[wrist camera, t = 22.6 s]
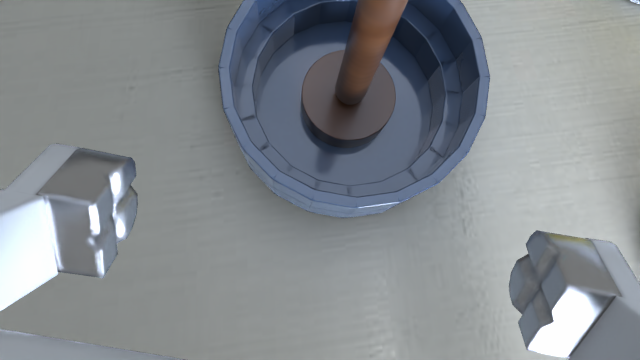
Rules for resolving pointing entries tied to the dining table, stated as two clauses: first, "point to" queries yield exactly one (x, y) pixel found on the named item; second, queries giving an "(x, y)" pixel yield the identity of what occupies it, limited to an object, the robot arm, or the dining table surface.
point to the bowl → (399, 132)
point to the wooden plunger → (354, 80)
